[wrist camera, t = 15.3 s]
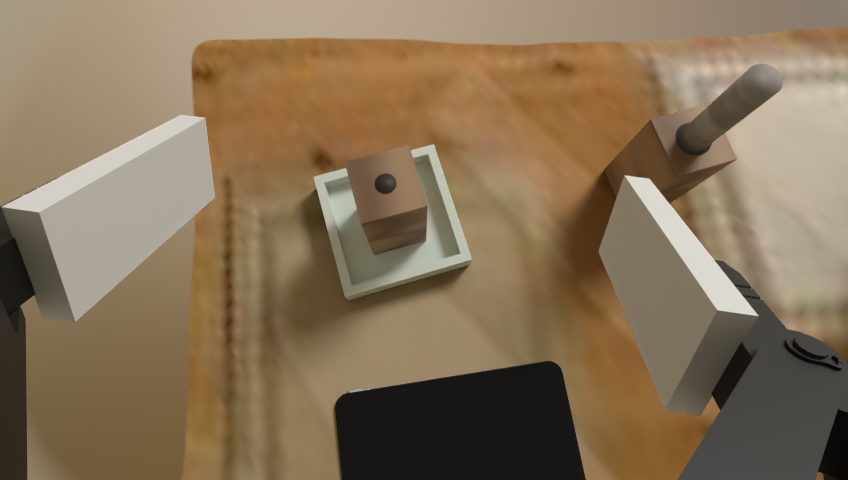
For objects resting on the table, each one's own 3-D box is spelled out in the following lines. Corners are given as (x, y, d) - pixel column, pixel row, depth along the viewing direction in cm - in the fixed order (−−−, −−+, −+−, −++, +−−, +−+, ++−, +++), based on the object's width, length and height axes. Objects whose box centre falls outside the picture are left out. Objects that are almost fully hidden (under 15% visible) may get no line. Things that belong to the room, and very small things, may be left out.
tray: (433, 155, 48) (433, 144, 46) (469, 264, 45) (472, 259, 43) (318, 186, 47) (313, 176, 45) (348, 300, 44) (344, 296, 42)
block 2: (650, 156, 48) (781, 36, 31) (671, 202, 47) (820, 104, 29) (604, 169, 48) (710, 55, 30) (623, 216, 46) (746, 125, 29)
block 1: (411, 191, 46) (409, 145, 36) (426, 240, 45) (427, 205, 35) (360, 205, 46) (344, 161, 36) (373, 255, 44) (361, 223, 35)
